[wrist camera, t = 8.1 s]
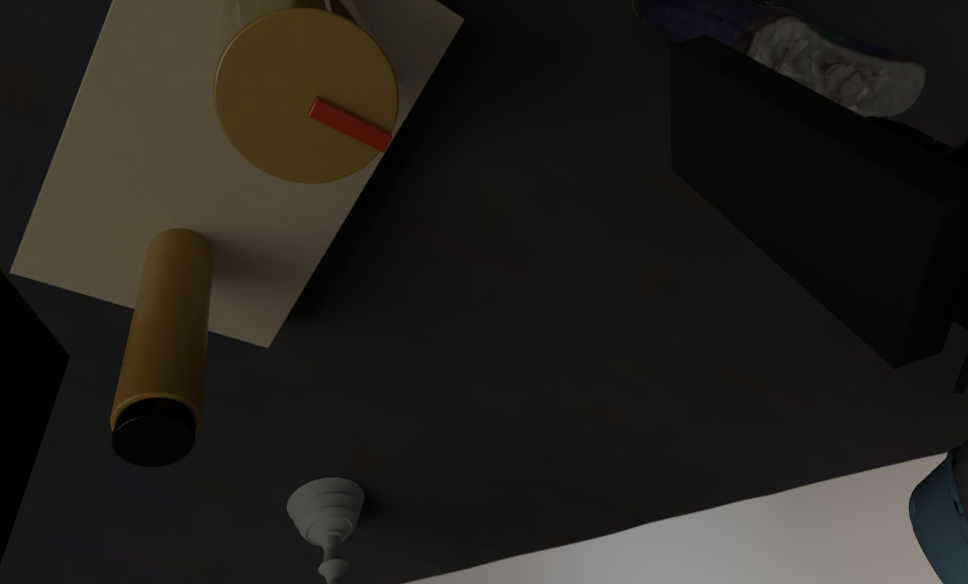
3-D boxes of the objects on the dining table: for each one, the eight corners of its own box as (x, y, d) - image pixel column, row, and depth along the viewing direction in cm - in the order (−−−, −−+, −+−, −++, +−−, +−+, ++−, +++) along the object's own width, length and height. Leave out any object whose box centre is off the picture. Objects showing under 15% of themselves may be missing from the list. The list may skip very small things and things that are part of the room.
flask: (798, 10, 33) (981, 85, 25) (767, 69, 34) (930, 157, 26) (644, -46, 29) (798, 20, 21) (617, 22, 31) (751, 108, 23)
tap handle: (200, 51, 24) (182, 144, 18) (256, -81, 23) (260, -30, 16) (326, 113, 27) (350, 214, 21) (386, 0, 25) (433, 71, 19)
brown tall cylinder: (164, 202, 29) (123, 403, 19) (224, 224, 30) (213, 423, 21) (142, 248, 30) (92, 462, 20) (201, 268, 31) (181, 477, 22)
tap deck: (196, -209, 22) (191, -209, 20) (464, -20, 28) (481, -6, 26) (25, 241, 29) (8, 275, 27) (267, 317, 35) (268, 350, 33)
